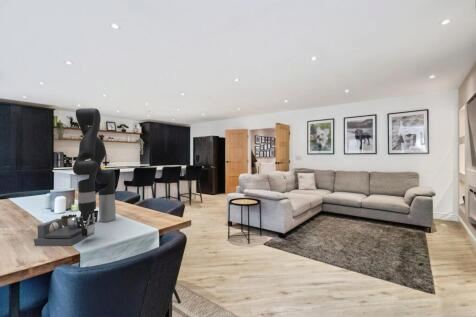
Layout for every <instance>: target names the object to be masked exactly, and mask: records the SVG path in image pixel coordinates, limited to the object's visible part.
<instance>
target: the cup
mask: <svg viewBox="0 0 476 317" xmlns="http://www.w3.org/2000/svg"><path fill="white" fill-rule="evenodd" d="M72 217H78V215H77V214H76V213H75V214H70V213H69V214H66V215H61V218H60V219H62V222H63V227H65V226H68V218H72Z"/></svg>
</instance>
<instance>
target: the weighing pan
mask: <svg viewBox="0 0 476 317" xmlns="http://www.w3.org/2000/svg"><path fill="white" fill-rule="evenodd" d="M81 232H82V229H78V228H76V229H68V226H65V227H64V226H63V227H62V228H60V229H58V230H55V231H53V232H50V233H48V234H46V235H43V238H71V237H73V236H75V235H77V234H79V233H81Z"/></svg>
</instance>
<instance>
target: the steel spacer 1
mask: <svg viewBox="0 0 476 317" xmlns="http://www.w3.org/2000/svg"><path fill="white" fill-rule="evenodd" d="M77 217H78V216H77ZM77 217H72V218H68V229H76V228H78V226H77V222H76V218H77Z"/></svg>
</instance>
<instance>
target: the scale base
mask: <svg viewBox="0 0 476 317" xmlns="http://www.w3.org/2000/svg"><path fill="white" fill-rule="evenodd" d="M62 227H64V226H63V222H62V219H61V218H55V219H52V220H50V221H49V220H48V221H47V222H44V223H41V224H39V225H37V238H34V241H33V242H34V244H33V245H34V246H40V247H41V246H42V247H43V246H44V247H45V246H46V247H47V246H50V247H52V246H54V247H57V246H58V247H59V246H61V247H64V246H66V247H67V246H69V247H72V246H73V245H76V244H78V243H79V242H81V241H83V240H85V239H86V238H89V236H87V237H84V236H82V232H81V233H79V234H77V235H75V236H73V237H71V238H43V235H46V234H48V233H50V232H53V231H55V230H58V229H60V228H62Z"/></svg>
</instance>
